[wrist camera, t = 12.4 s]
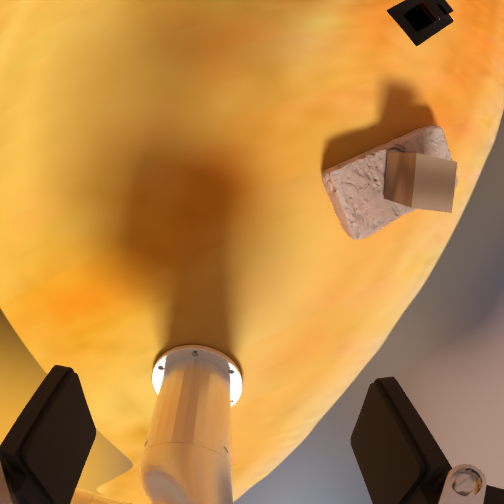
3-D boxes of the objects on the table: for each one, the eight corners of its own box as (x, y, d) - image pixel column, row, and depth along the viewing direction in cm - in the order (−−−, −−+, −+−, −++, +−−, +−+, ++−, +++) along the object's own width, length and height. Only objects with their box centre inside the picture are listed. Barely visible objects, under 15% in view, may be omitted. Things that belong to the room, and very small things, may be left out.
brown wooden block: (420, 202, 32) (451, 212, 26) (383, 198, 32) (411, 207, 26) (425, 159, 31) (457, 162, 25) (387, 152, 30) (416, 153, 25)
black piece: (411, 55, 31) (431, 46, 27) (374, 10, 29) (389, -5, 25) (459, 23, 29) (478, 15, 25) (427, -17, 27) (443, -29, 23)
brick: (424, 123, 34) (444, 121, 29) (444, 182, 36) (465, 186, 32) (314, 171, 35) (326, 173, 31) (342, 234, 38) (355, 245, 33)
